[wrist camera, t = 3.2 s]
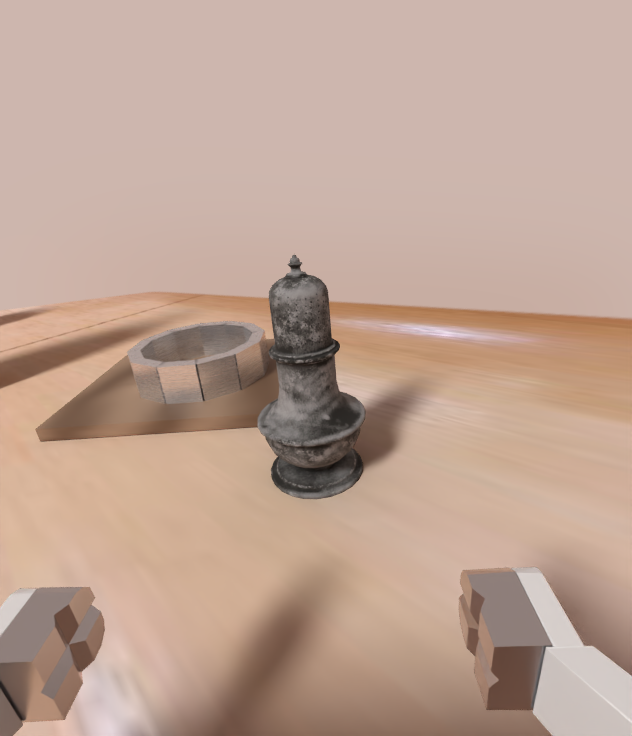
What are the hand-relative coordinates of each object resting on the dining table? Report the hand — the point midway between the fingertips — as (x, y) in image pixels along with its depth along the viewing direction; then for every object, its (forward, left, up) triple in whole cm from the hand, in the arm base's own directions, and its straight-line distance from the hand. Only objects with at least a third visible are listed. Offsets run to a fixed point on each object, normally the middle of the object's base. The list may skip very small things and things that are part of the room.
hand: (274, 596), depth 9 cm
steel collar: (+10, -26, -6) cm, 29 cm away
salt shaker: (0, -13, -7) cm, 15 cm away
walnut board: (+10, -26, -6) cm, 29 cm away
